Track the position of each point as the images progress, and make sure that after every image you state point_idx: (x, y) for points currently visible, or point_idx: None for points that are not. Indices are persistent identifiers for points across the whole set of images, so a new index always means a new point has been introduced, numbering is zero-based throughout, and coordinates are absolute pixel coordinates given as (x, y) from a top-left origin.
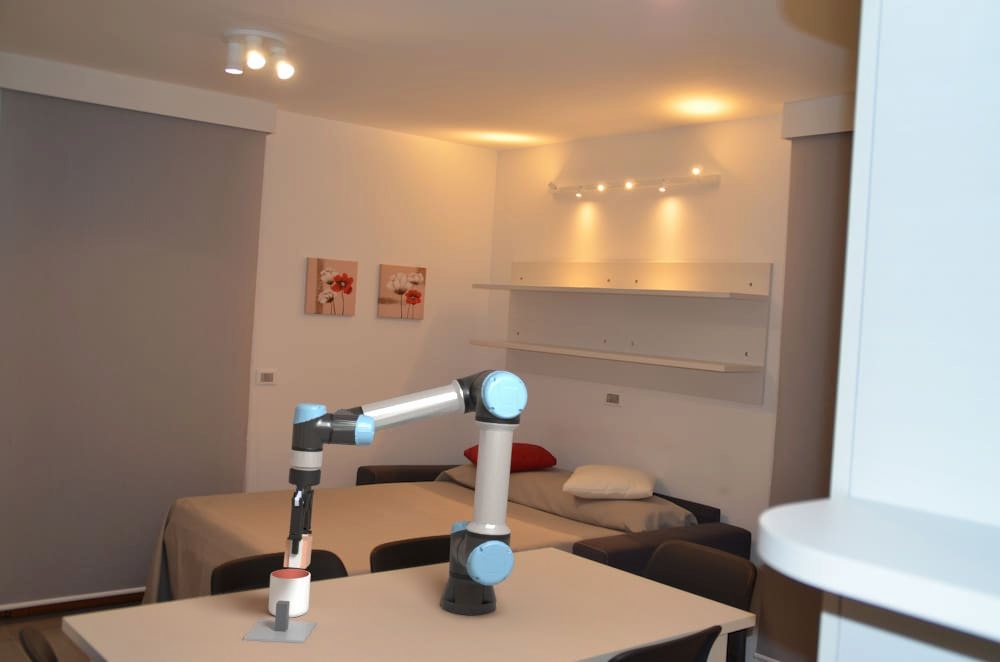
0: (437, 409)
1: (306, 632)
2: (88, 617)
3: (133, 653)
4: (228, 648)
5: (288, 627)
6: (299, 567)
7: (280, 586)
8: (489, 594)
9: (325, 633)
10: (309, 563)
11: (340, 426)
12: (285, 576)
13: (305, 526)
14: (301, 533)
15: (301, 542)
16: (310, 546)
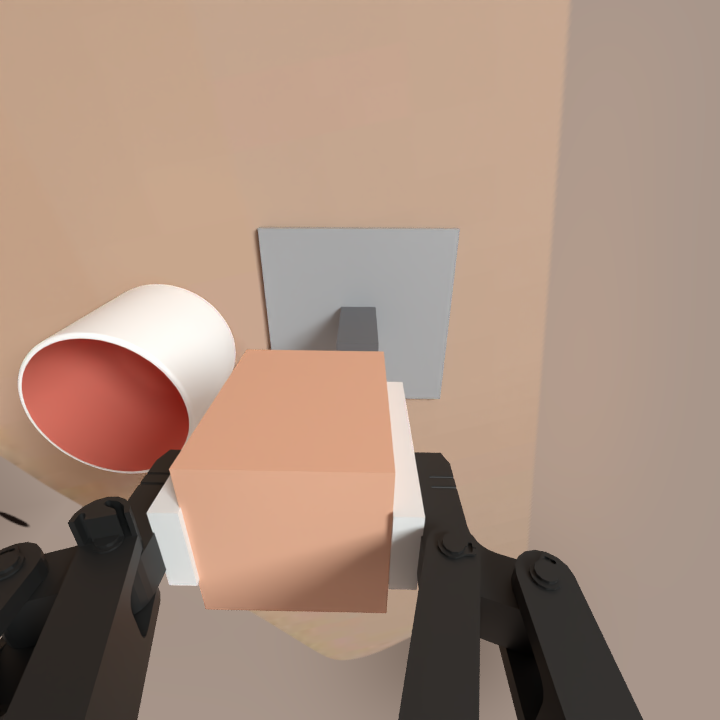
0: None
1: (373, 240)
2: (334, 647)
3: (527, 550)
4: (502, 411)
5: (334, 307)
6: (402, 385)
7: (205, 410)
8: None
9: (349, 173)
10: (264, 351)
11: None
12: (70, 422)
13: (125, 620)
14: (473, 595)
15: (420, 505)
16: (252, 416)
